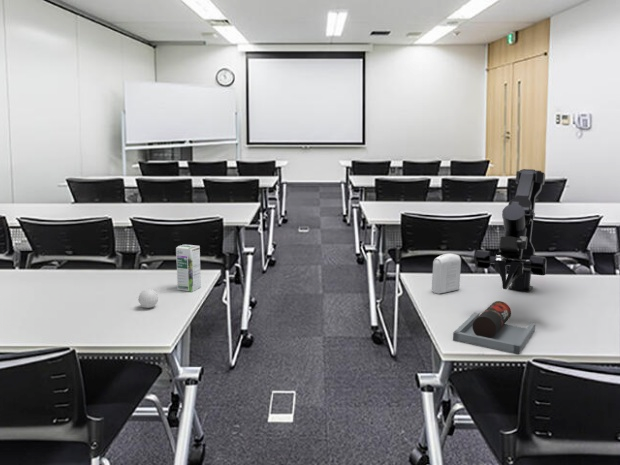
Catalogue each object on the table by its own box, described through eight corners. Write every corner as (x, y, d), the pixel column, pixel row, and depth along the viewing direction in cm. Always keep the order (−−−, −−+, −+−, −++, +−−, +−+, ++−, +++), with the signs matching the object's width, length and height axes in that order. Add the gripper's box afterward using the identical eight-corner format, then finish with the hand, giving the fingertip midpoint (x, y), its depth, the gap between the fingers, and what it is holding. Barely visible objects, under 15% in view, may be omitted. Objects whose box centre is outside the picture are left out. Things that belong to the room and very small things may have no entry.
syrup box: (176, 290, 181) (174, 247, 178) (187, 285, 186) (185, 243, 183) (191, 292, 179) (189, 248, 176) (201, 287, 184) (200, 244, 181)
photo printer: (451, 286, 185) (453, 250, 183) (461, 289, 182) (463, 253, 179) (429, 291, 180) (431, 254, 177) (439, 295, 176) (441, 257, 174)
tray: (474, 319, 154) (474, 312, 154) (534, 330, 145) (535, 323, 145) (452, 339, 139) (453, 332, 139) (518, 354, 131) (519, 346, 130)
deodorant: (484, 308, 153) (467, 325, 141) (501, 296, 150) (485, 312, 137) (499, 326, 151) (483, 343, 139) (516, 314, 148) (501, 331, 136)
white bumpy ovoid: (162, 305, 165) (161, 287, 164) (151, 311, 160) (150, 293, 159) (141, 303, 168) (139, 285, 167) (129, 308, 163) (128, 290, 162)
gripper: (477, 221, 155) (466, 268, 148) (548, 227, 147) (541, 277, 139) (481, 244, 163) (470, 289, 156) (549, 250, 155) (541, 299, 147)
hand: (504, 288), depth 149 cm, fingers closed
